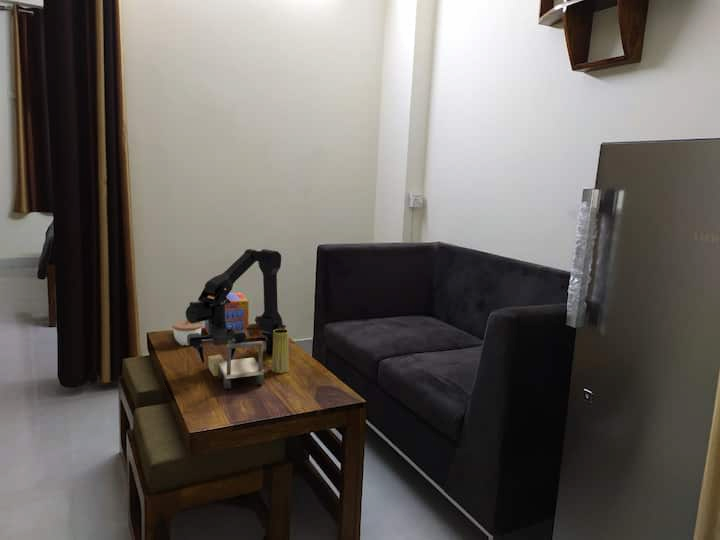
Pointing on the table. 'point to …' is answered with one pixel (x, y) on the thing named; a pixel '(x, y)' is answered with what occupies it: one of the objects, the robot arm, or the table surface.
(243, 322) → the game box
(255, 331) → the wooden carving
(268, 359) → the table surface
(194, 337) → the robot arm
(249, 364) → the trolley
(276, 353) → the vase
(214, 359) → the block
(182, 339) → the lidded jar
